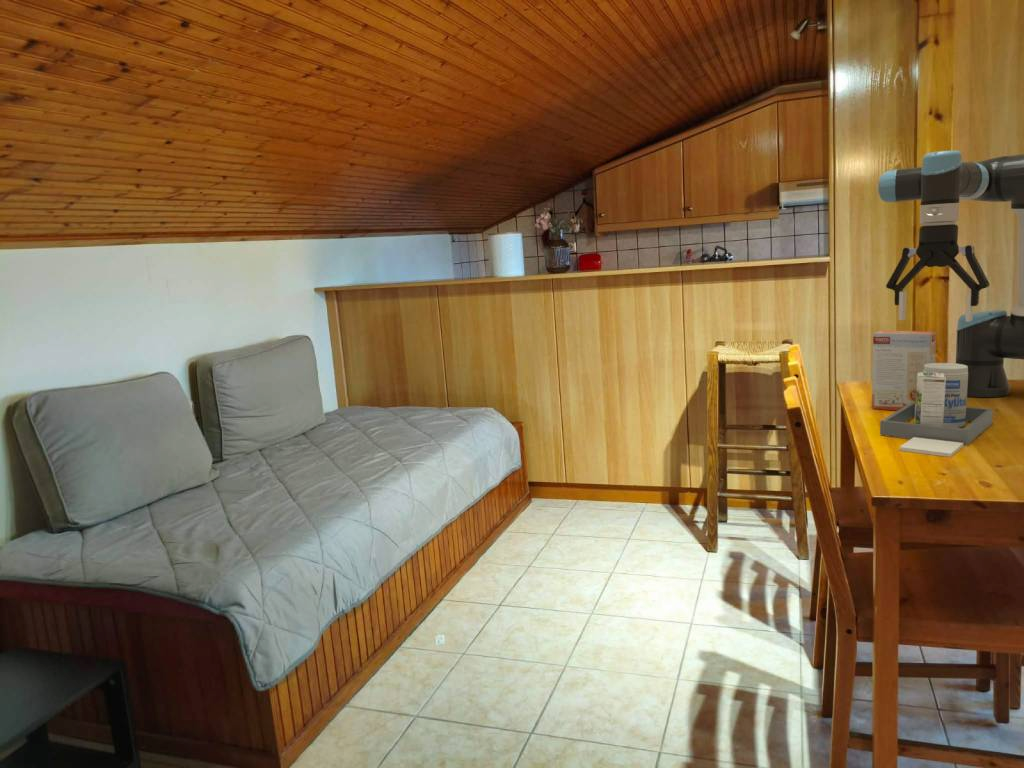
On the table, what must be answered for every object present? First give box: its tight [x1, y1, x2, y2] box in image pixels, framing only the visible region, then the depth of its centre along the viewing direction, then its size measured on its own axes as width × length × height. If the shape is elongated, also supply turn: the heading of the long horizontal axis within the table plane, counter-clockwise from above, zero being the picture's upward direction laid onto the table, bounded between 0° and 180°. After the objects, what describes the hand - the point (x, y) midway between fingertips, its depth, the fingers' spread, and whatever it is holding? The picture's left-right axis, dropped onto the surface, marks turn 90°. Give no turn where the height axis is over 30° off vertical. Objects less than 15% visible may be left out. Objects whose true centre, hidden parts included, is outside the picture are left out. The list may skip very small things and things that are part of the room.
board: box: [899, 437, 964, 458], centre depth 167 cm, size 10×10×1 cm
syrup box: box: [913, 372, 946, 426], centre depth 176 cm, size 6×6×14 cm
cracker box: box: [871, 330, 937, 412], centre depth 202 cm, size 14×6×21 cm, turn 48°
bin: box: [879, 402, 994, 446], centre depth 182 cm, size 24×18×4 cm
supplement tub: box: [923, 362, 968, 428], centre depth 185 cm, size 10×10×15 cm
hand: (934, 320), depth 173 cm, fingers open, 13 cm apart
